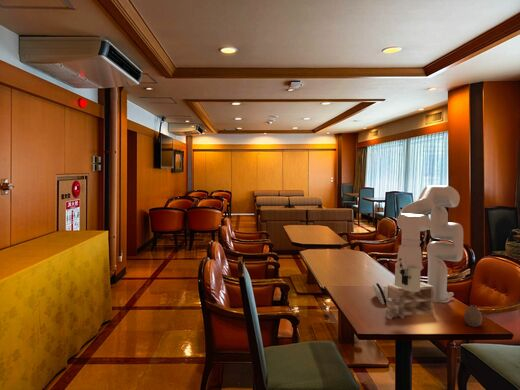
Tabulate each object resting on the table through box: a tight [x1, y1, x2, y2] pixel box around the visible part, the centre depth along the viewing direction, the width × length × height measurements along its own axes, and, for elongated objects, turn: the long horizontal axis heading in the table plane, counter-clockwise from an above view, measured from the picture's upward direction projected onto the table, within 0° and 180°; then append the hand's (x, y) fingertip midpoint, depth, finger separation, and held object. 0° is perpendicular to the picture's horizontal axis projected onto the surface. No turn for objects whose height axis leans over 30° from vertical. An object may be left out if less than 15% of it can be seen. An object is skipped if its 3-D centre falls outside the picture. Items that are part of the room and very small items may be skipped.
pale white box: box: [394, 262, 422, 292], centre depth 171 cm, size 5×12×10 cm, turn 17°
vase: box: [463, 304, 483, 328], centre depth 169 cm, size 7×7×9 cm
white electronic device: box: [372, 282, 388, 305], centre depth 204 cm, size 17×5×10 cm, turn 174°
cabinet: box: [385, 281, 434, 320], centre depth 183 cm, size 26×11×13 cm, turn 106°
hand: (409, 283), depth 170 cm, fingers closed on pale white box, 4 cm apart
